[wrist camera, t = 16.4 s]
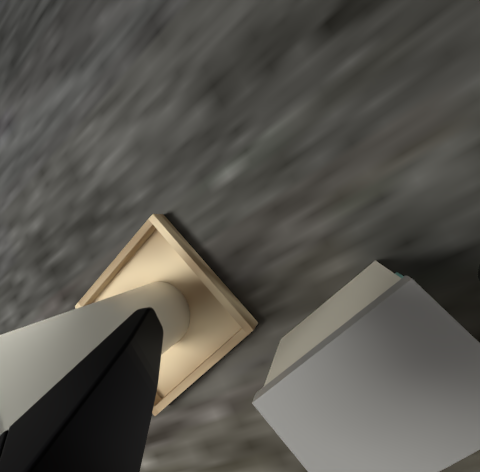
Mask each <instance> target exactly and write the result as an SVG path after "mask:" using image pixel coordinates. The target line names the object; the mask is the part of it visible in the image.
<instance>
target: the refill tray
mask: <svg viewBox="0 0 480 472" xmlns="http://www.w3.org/2000/svg"><path fill="white" fill-rule="evenodd" d="M152 282H166V283H169V284H171V285H173V286H174V287H176V288H177V289H178V290H179V291H180V292H181V293H182V294H183V296H184V297H185V299H186V301H187V303H188V306H189V311H190V323H189V327H188V330H187V332H186V333H185V335H184V336H183V337H182V338H181V339H180V340H179V341H178V342H177V343H175V344H174V345H173V346H172V347H170V348H169V349H168V350H167V351H166V352H164V353H163V354H162V355H161V362H160V371H159V379H158V387H157V392H156V397H155V402H154V407H153V411H152V413H153V415H154V416H156V415H157V414H158V413H159V412H160V411H161V410H163V409H164V408H165V407H166V406H167V405H168V404H170V403H171V402H172V401H173V400H174V399H175V398H176V397H178V396H179V395H180V394H181V393H182V392H183V391H184V390H186V389H187V388H188V387H189V386H190V385H191V384H192V383H194V382H195V381H196V380H197V379H198V378H199V377H200V376H202V375H203V374H204V373H205V372H206V371H207V370H208V369H210V368H211V367H212V366H213V365H214V364H215V363H216V362H218V361H219V360H220V359H221V358H222V357H223V356H225V355H226V354H227V353H228V352H229V351H230V350H231V349H233V348H234V347H235V346H236V345H237V344H238V343H239V342H241V341H242V340H243V339H244V338H245V337H246V336H247V335H249V334H250V333H251V332H252V331H253V330H254V329H255V327H256V326H257V324H258V322H257V321H256V320H255V318H254V317H253V316H252V315H251V314H250V313H249V312H248V310H247V309H246V308H245V307H244V306H243V305H242V304H241V302H240V301H239V300H238V299H237V298H236V297H235V296H234V294H233V293H232V292H231V291H230V290H229V289H228V288H227V286H226V285H225V284H224V283H223V282H222V281H221V280H220V278H219V277H218V276H217V275H216V274H215V273H214V272H213V270H212V269H211V268H210V267H209V266H208V265H207V264H206V263H205V261H204V260H203V259H202V258H201V257H200V256H199V255H198V253H197V252H196V251H195V250H194V249H193V248H192V247H191V245H190V244H189V243H188V242H187V241H186V240H185V239H184V237H183V236H182V235H181V234H180V233H179V232H178V231H177V229H176V228H175V227H174V226H173V225H172V224H171V223H170V221H169V220H168V219H167V218H166V217H165V216H164V215H163V214H152V215H151V217H150V218H149V219H148V220H147V221H146V222H145V224H144V225H143V226H142V227H141V228H140V230H139V231H138V232H137V233H136V234H135V236H134V237H133V238H132V239H131V240H130V242H129V243H128V244H127V245H126V246H125V247H124V249H123V250H122V251H121V252H120V253H119V255H118V256H117V257H116V258H115V259H114V261H113V262H112V263H111V264H110V265H109V267H108V268H107V269H106V270H105V271H104V272H103V274H102V275H101V276H100V277H99V278H98V280H97V281H96V282H95V283H94V284H93V286H92V287H91V288H90V289H89V290H88V291H87V293H86V294H85V295H84V296H83V297H82V299H81V300H80V301H79V302H78V303H77V305H76V306H75V308H76V309H77V308H80V307H83V306H86V305H89V304H92V303H94V302H97V301H100V300H103V299H106V298H109V297H112V296H115V295H118V294H120V293H123V292H126V291H129V290H132V289H135V288H138V287H141V286H144V285H146V284H149V283H152Z"/></svg>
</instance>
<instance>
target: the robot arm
mask: <svg viewBox="0 0 480 472" xmlns="http://www.w3.org/2000/svg"><path fill="white" fill-rule="evenodd" d="M478 278H479V280H480V265H479V269H478ZM162 344H163V327H162V325H161V323H160V321H159V319H158V317H157V315H156V313H155V311H154V309H153V308H152V307H146V308H141V309H137V310H136V311H135V312H134V313H133V314H131V315H130V316H129V317H128V318H127V319H126V320H125V321H124V322H123V323H122V324H121V325H120V326H118V327H117V328H116V329H115V330H114V331H113V332H112V333H111V334H110V335H109V336H108V337H107V338H105V339H104V340H103V341H102V342H101V343H100V344H99V345H98V346H97V347H96V348H95V349H93V350H92V351H91V352H90V353H89V354H88V355H87V356H86V357H85V358H84V359H83V360H82V361H80V362H79V363H78V364H77V365H76V366H75V367H74V368H73V369H72V370H71V371H70V372H69V373H67V374H66V375H65V376H64V377H63V378H62V379H61V380H60V381H59V382H58V383H57V384H56V385H54V386H53V387H52V388H51V389H50V390H49V391H48V392H47V393H46V394H45V395H44V396H42V397H41V398H40V399H39V400H38V401H37V402H36V403H35V404H34V405H33V406H32V407H31V408H29V409H28V410H27V411H26V412H25V413H24V414H23V415H22V416H21V417H20V418H19V419H18V420H16V421H15V422H14V423H13V424H12V425H11V426H10V427H9V430H6V431H4V432H3V433H2V434H1V435H0V472H139V471H140V467H141V462H142V458H143V453H144V448H145V444H146V439H147V434H148V430H149V425H150V421H151V416H152V411H153V407H154V402H155V397H156V392H157V387H158V379H159V371H160V362H161V353H162Z"/></svg>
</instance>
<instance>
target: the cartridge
mask: <svg viewBox="0 0 480 472" xmlns="http://www.w3.org/2000/svg"><path fill="white" fill-rule="evenodd" d="M146 307H152V308H153V309H154V311H155V313H156V315H157V317H158V319H159V321H160V323H161V325H162V327H163V344H162V353H161V355H162V354H163V353H164V352H166V351H167V350H168V349H169V348H170V347H172V346H173V345H174V344H175V343H177V342H178V341H179V340H180V339H181V338H182V337H183V336H184V335H185V333H186V332H187V330H188V327H189V323H190V311H189V306H188V303H187V301H186V299H185V297H184V296H183V294H182V293H181V292H180V291H179V290H178V289H177V288H176V287H174V286H173V285H171V284H169V283H166V282H152V283H149V284H146V285H144V286H141V287H138V288H135V289H132V290H129V291H126V292H123V293H120V294H118V295H115V296H112V297H109V298H106V299H103V300H100V301H97V302H94V303H92V304H89V305H86V306H83V307H80V308H77V309H74V310H71V311H68V312H66V313H63V314H60V315H57V316H54V317H51V318H48V319H45V320H42V321H40V322H37V323H34V324H31V325H28V326H25V327H22V328H19V329H16V330H14V331H11V332H8V333H5V334H2V335H0V435H1V434H2V433H3V432H4V431H6V430H9V427H10V426H11V425H12V424H13V423H14V422H15V421H16V420H18V419H19V418H20V417H21V416H22V415H23V414H24V413H25V412H26V411H27V410H28V409H29V408H31V407H32V406H33V405H34V404H35V403H36V402H37V401H38V400H39V399H40V398H41V397H42V396H44V395H45V394H46V393H47V392H48V391H49V390H50V389H51V388H52V387H53V386H54V385H56V384H57V383H58V382H59V381H60V380H61V379H62V378H63V377H64V376H65V375H66V374H67V373H69V372H70V371H71V370H72V369H73V368H74V367H75V366H76V365H77V364H78V363H79V362H80V361H82V360H83V359H84V358H85V357H86V356H87V355H88V354H89V353H90V352H91V351H92V350H93V349H95V348H96V347H97V346H98V345H99V344H100V343H101V342H102V341H103V340H104V339H105V338H107V337H108V336H109V335H110V334H111V333H112V332H113V331H114V330H115V329H116V328H117V327H118V326H120V325H121V324H122V323H123V322H124V321H125V320H126V319H127V318H128V317H129V316H130V315H131V314H133V313H134V312H135V311H136V310H137V309H141V308H146Z"/></svg>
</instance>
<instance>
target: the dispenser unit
mask: <svg viewBox="0 0 480 472" xmlns="http://www.w3.org/2000/svg"><path fill="white" fill-rule="evenodd" d="M252 404H253V405H254V406H255V407H256V408H257V410H258V411H259V412H260V413H261V415H262V416H263V417H264V418H265V420H266V421H267V422H268V423H269V424H270V426H271V427H272V428H273V429H274V431H275V432H276V433H277V434H278V435H279V437H280V438H281V439H282V440H283V442H284V443H285V444H286V445H287V446H288V448H289V449H290V450H291V451H292V453H293V454H294V455H295V456H296V458H297V459H298V460H299V461H300V462H301V464H302V465H303V466H304V467H305V469H306V470H307V471H308V472H439V471H441V470H443V469H445V468H447V467H449V466H450V465H452V464H454V463H456V462H458V461H460V460H461V459H463V458H465V457H467V456H469V455H471V454H472V453H474V452H476V451H478V450H480V343H479V342H478V341H477V340H476V339H475V338H474V337H473V336H472V335H471V334H470V333H469V332H468V331H467V330H465V329H464V328H463V327H462V326H461V325H460V324H459V323H458V322H457V321H456V320H455V319H454V318H453V317H452V316H451V315H450V314H449V313H448V312H447V311H446V310H445V309H443V308H442V307H441V306H440V305H439V304H438V303H437V302H436V301H435V300H434V299H433V298H432V297H431V296H430V295H429V294H428V293H427V292H426V291H425V290H424V289H423V288H421V287H420V286H419V285H418V284H417V283H416V282H415V281H414V280H413V279H412V278H410V277H409V276H407V275H405V276H402V275H401V274H399V273H398V272H396V273H395V274H394V273H393V272H391V271H390V270H389V269H387V268H386V267H384V266H383V265H381V264H380V263H378V262H377V261H376V260H375V261H374V262H373V263H372V264H371V265H369V266H368V267H367V268H366V269H365V270H363V271H362V272H361V273H360V274H358V275H357V276H356V277H355V278H354V279H352V280H351V281H350V282H349V283H348V284H346V285H345V286H344V287H343V288H342V289H340V290H339V291H338V292H337V293H336V294H334V295H333V296H332V297H331V298H330V299H328V300H327V301H326V302H325V303H324V304H322V305H321V306H320V307H319V308H318V309H316V310H315V311H314V312H313V313H312V314H310V315H309V316H308V317H307V318H305V319H304V320H303V321H302V322H301V323H299V324H298V325H297V326H296V327H295V328H293V329H292V330H291V331H290V332H289V333H287V334H286V335H285V336H284V337H283V338H281V340H280V342H279V345H278V348H277V351H276V354H275V357H274V359H273V362H272V365H271V368H270V371H269V373H268V376H267V379H266V382H265V385H264V387H263V388H262V389H260V390H259V391H258V392H257V393H256V394H255V397H254V399H253V402H252Z"/></svg>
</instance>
